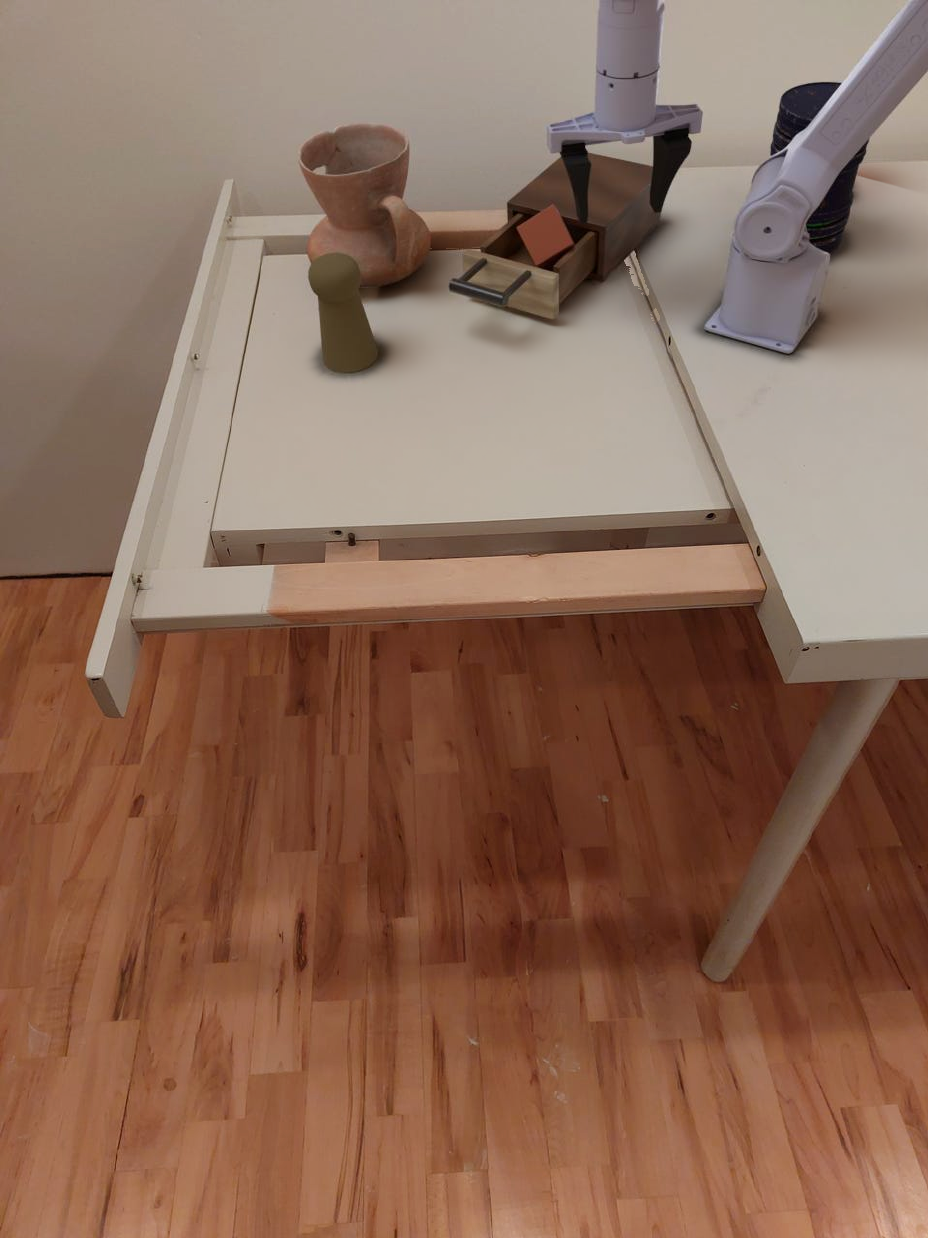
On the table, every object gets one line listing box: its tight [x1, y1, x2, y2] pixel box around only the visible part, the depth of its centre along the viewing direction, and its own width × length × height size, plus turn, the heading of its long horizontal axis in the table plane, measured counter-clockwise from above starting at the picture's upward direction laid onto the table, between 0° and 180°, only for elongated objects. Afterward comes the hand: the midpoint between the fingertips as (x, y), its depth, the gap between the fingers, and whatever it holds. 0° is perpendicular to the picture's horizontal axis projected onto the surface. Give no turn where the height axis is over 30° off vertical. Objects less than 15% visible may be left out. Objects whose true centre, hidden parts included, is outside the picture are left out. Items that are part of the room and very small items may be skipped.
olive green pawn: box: [307, 253, 379, 374], centre depth 92 cm, size 6×6×11 cm
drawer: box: [448, 212, 599, 320], centre depth 98 cm, size 20×11×5 cm, turn 146°
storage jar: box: [769, 81, 871, 255], centre depth 99 cm, size 10×10×15 cm
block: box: [517, 204, 575, 269], centre depth 98 cm, size 4×4×4 cm
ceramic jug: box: [297, 122, 432, 289], centre depth 102 cm, size 18×14×14 cm
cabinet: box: [506, 152, 662, 283], centre depth 105 cm, size 15×13×7 cm
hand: (618, 213), depth 92 cm, fingers open, 7 cm apart
